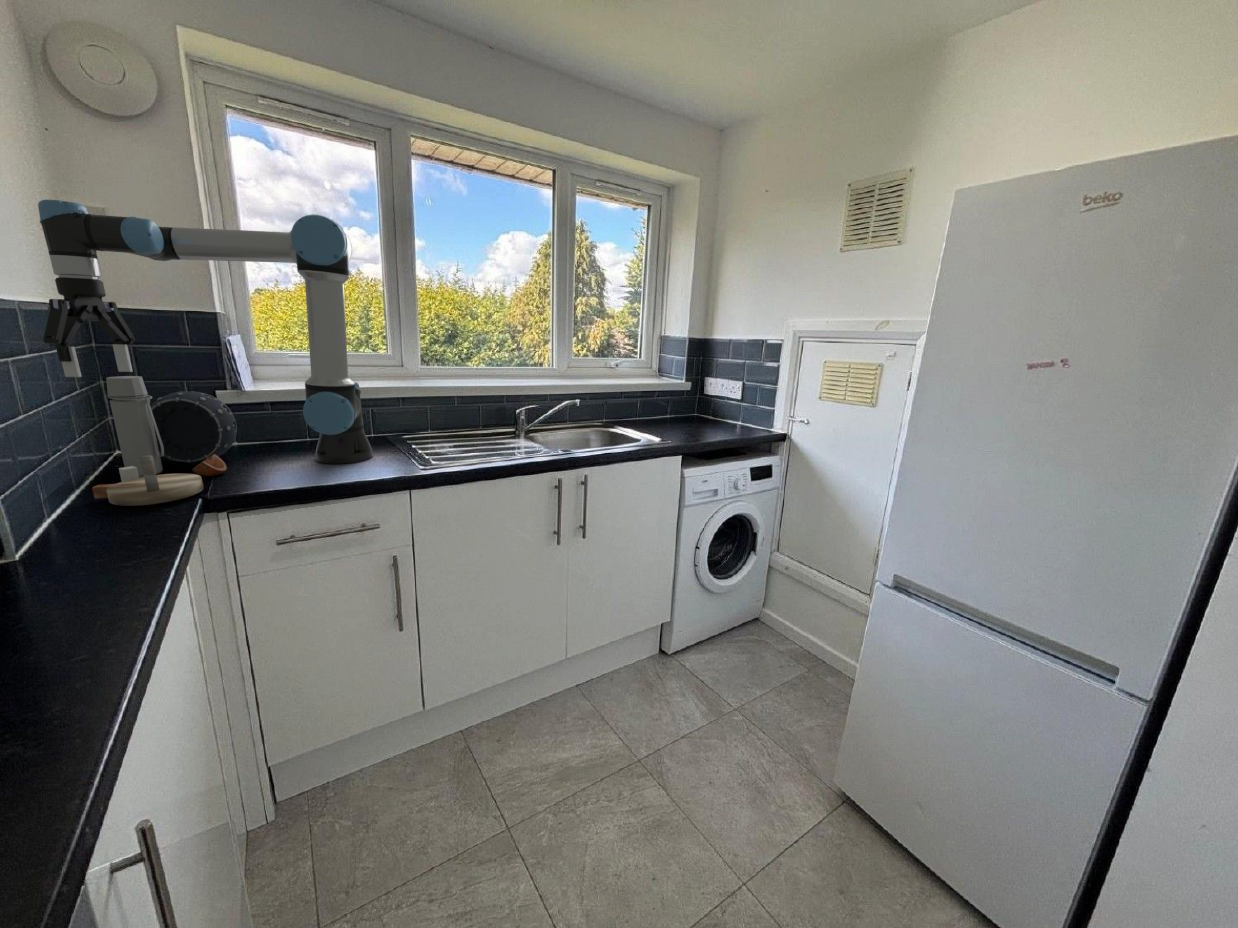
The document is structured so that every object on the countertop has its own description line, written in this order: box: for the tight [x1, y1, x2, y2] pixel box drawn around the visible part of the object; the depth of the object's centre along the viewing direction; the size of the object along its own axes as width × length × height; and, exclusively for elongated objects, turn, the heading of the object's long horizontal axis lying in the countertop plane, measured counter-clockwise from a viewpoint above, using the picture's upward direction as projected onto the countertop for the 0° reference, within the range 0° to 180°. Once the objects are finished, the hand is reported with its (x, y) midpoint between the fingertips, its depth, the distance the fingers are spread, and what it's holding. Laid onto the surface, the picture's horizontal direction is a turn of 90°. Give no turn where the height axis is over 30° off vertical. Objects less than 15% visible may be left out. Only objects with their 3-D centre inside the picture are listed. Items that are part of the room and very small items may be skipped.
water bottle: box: [106, 375, 165, 478], centre depth 130 cm, size 9×8×25 cm
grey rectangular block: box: [118, 466, 140, 482], centre depth 121 cm, size 2×2×5 cm
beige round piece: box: [91, 455, 204, 507], centre depth 114 cm, size 16×19×10 cm
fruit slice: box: [192, 454, 228, 477], centre depth 133 cm, size 8×7×5 cm
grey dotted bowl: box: [150, 391, 238, 465], centre depth 143 cm, size 11×20×20 cm, turn 107°
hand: (101, 374), depth 120 cm, fingers open, 13 cm apart
